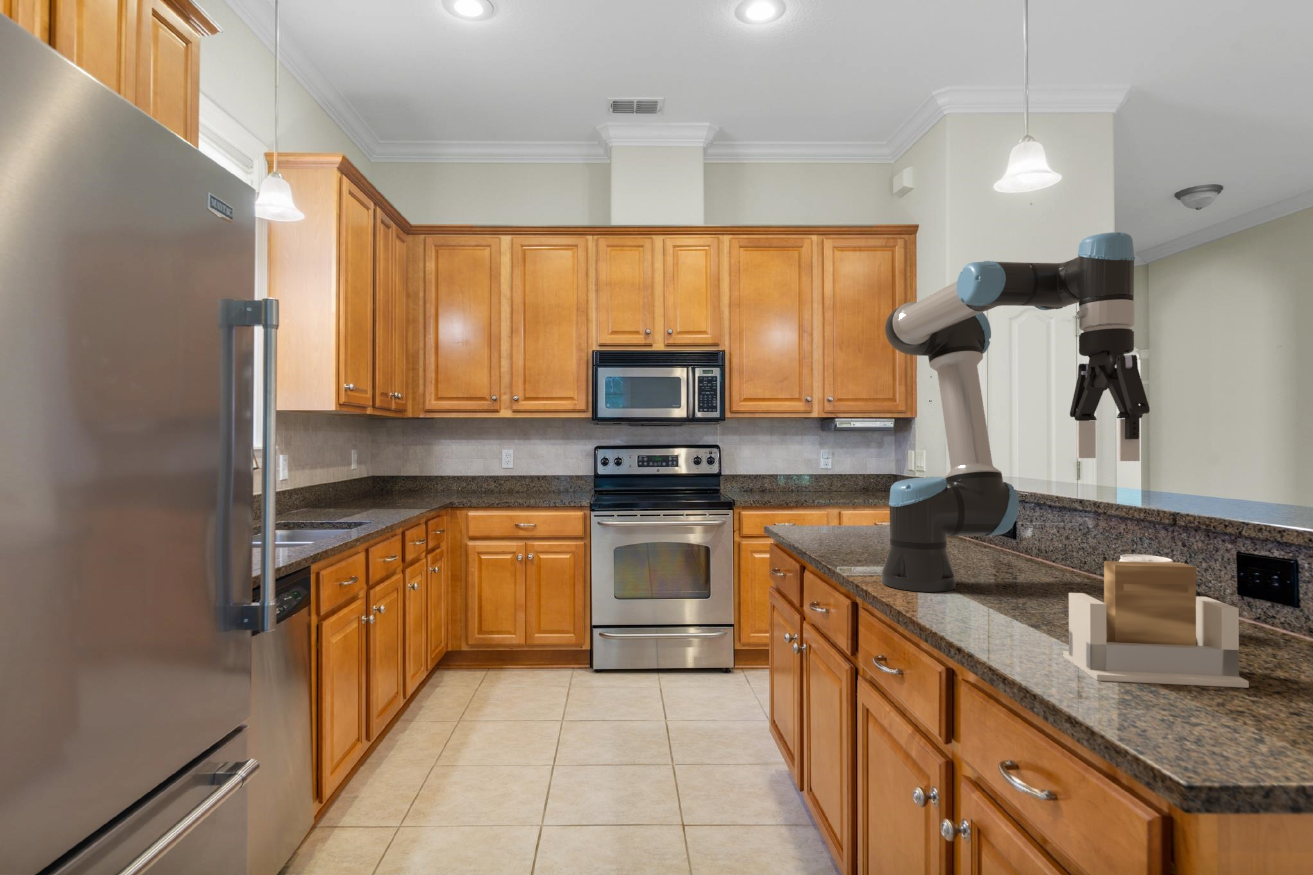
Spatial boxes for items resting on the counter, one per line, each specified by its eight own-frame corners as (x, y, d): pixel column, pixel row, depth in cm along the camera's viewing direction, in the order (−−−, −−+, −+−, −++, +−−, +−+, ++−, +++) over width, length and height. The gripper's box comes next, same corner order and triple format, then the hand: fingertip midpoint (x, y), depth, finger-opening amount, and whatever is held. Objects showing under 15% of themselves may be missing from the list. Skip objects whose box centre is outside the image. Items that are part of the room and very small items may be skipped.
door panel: (1103, 659, 95) (1103, 560, 95) (1181, 662, 94) (1181, 562, 94) (1115, 667, 92) (1115, 565, 92) (1196, 670, 90) (1196, 567, 90)
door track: (1063, 656, 99) (1063, 589, 99) (1198, 661, 96) (1198, 593, 96) (1097, 680, 89) (1096, 606, 89) (1248, 687, 86) (1248, 611, 86)
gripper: (1048, 341, 123) (1049, 457, 123) (1121, 317, 98) (1121, 462, 98) (1093, 340, 122) (1093, 457, 122) (1178, 316, 97) (1178, 462, 97)
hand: (1106, 459), depth 110 cm, fingers open, 13 cm apart
